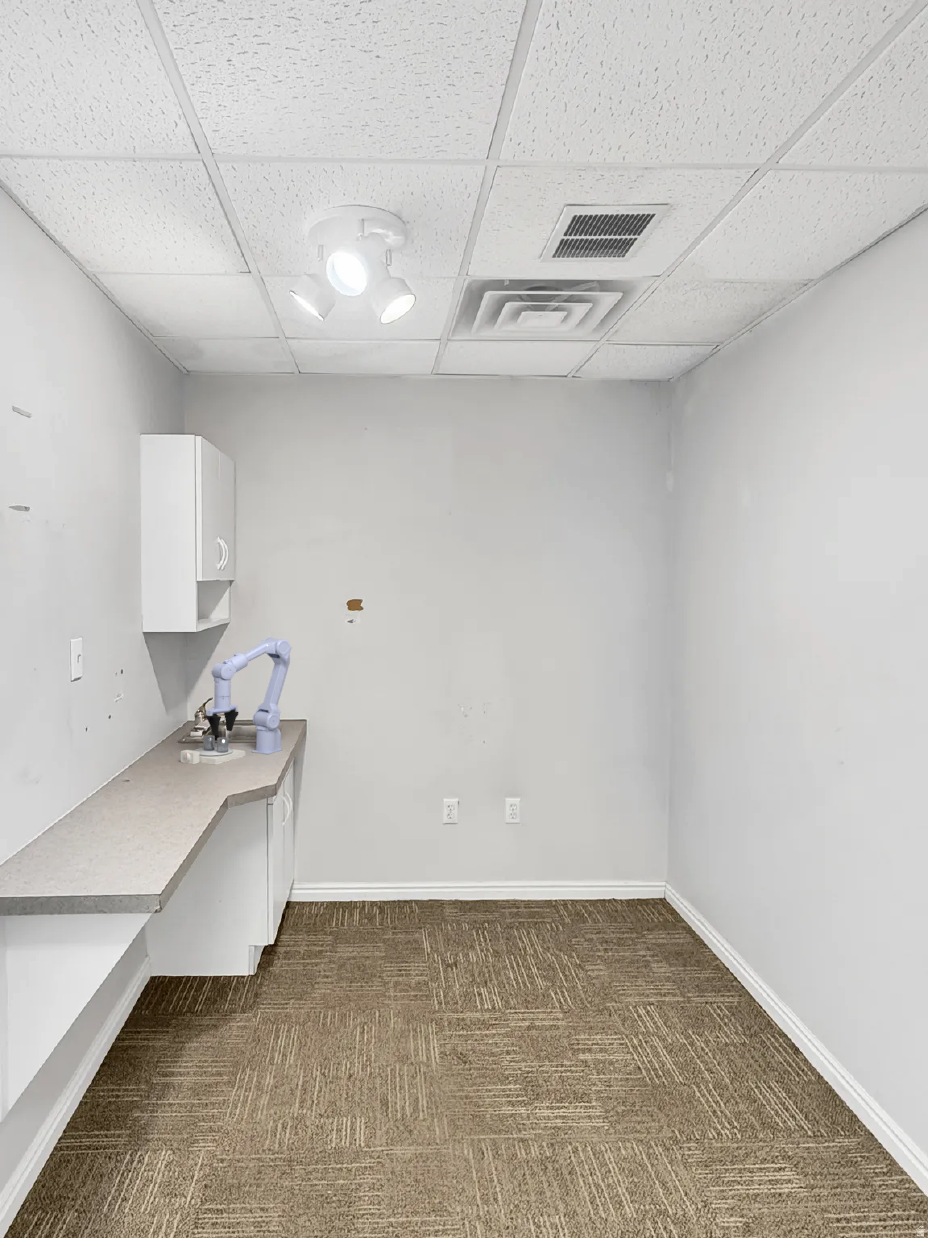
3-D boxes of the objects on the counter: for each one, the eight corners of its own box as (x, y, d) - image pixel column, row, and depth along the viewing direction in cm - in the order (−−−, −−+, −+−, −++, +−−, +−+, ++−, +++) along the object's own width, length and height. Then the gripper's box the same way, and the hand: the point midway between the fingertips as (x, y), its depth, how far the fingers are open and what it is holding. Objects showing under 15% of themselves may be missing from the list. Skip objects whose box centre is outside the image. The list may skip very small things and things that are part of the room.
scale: (212, 751, 322) (212, 741, 322) (244, 756, 315) (245, 745, 315) (173, 761, 304) (173, 750, 304) (207, 766, 297) (207, 755, 297)
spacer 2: (222, 750, 312) (222, 736, 312) (230, 751, 310) (230, 738, 310) (214, 752, 308) (214, 738, 308) (222, 753, 307) (222, 739, 306)
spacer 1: (207, 748, 315) (208, 734, 314) (216, 749, 313) (217, 735, 313) (201, 750, 311) (201, 736, 311) (210, 751, 309) (210, 737, 309)
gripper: (227, 692, 316) (227, 728, 317) (200, 697, 303) (199, 734, 304) (242, 694, 313) (241, 730, 314) (215, 699, 300) (214, 736, 301)
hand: (222, 732), depth 309 cm, fingers open, 7 cm apart
